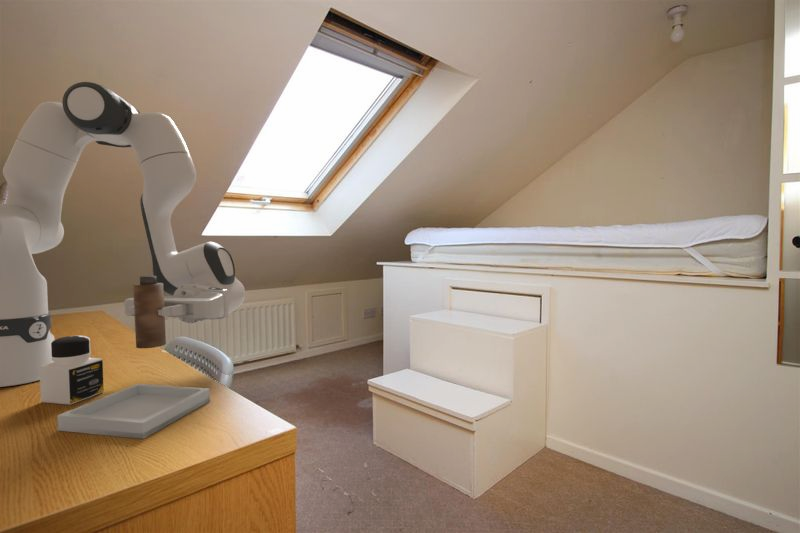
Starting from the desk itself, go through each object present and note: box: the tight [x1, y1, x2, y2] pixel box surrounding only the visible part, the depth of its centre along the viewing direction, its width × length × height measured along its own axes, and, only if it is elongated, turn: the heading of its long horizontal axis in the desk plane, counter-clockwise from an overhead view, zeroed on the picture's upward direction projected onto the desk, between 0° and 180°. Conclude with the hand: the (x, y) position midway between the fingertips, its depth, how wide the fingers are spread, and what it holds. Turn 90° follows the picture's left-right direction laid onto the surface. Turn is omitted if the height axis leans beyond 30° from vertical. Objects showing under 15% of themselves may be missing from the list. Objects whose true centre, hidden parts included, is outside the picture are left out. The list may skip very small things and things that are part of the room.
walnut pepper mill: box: [132, 275, 167, 349], centre depth 82 cm, size 5×5×14 cm
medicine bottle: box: [39, 335, 105, 406], centre depth 82 cm, size 7×7×12 cm
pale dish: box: [57, 383, 211, 440], centre depth 74 cm, size 16×16×2 cm
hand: (146, 312), depth 81 cm, fingers closed on walnut pepper mill, 5 cm apart
